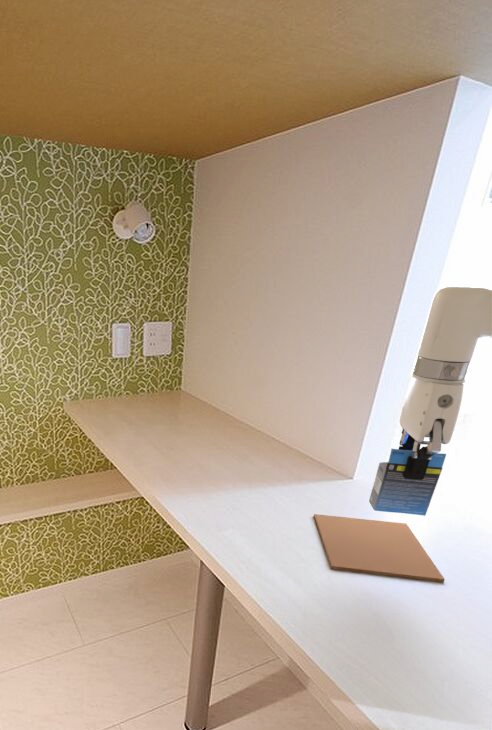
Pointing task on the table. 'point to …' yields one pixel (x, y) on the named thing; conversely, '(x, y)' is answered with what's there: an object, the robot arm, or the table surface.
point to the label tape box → (404, 485)
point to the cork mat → (375, 548)
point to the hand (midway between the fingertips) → (408, 471)
